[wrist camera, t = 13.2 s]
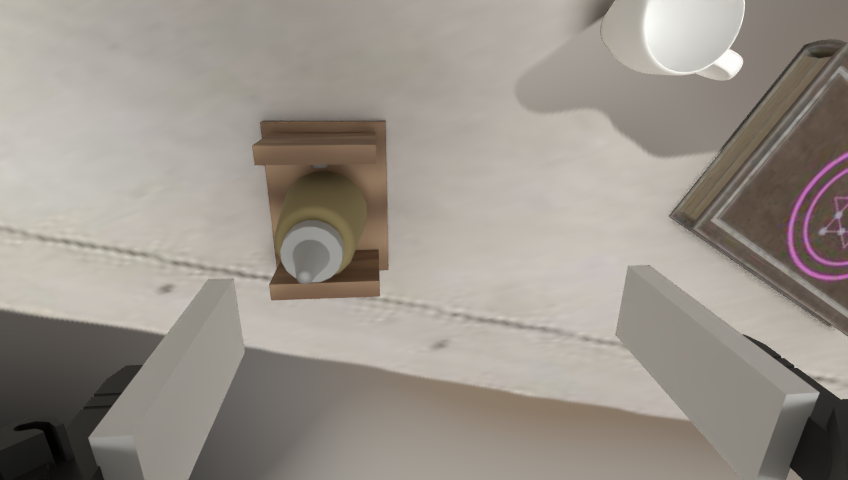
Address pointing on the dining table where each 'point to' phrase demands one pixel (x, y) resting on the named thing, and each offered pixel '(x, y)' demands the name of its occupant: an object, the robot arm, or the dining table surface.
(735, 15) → the mug
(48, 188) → the dining table surface
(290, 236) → the squeeze bottle
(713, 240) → the book
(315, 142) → the holder
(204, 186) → the dining table surface
